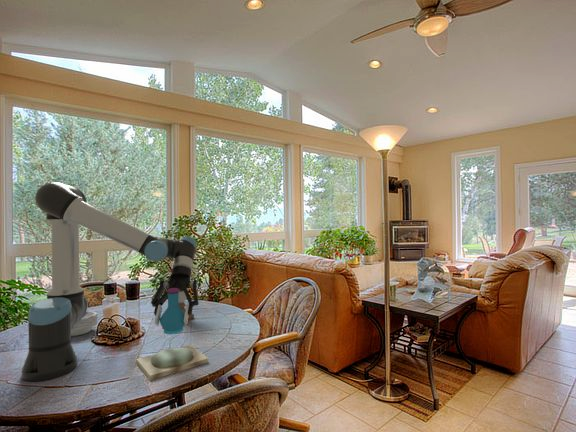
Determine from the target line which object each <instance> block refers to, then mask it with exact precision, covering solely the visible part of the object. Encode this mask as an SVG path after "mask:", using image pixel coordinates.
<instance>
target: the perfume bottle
mask: <svg viewBox="0 0 576 432" xmlns="http://www.w3.org/2000/svg"><path fill="white" fill-rule="evenodd" d="M166 290H167V289H166ZM166 290H165V292H168V293H167V294H168V299H167V308H166V309H165V311H164V312H163V313H162V314H161V317H160V321H159V323H160V325H161V328H162V330H163V334H165V335H176V334H180V333H181V332H183V331H184V327H185V326H186V324H185V323H184V316H185V313H184V312H183V311H182V309H181V308H180V307H179V305H178V293H179V292H178V291H180V290H179V289H178V288H170V289H168V290H167V291H166Z"/></svg>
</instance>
